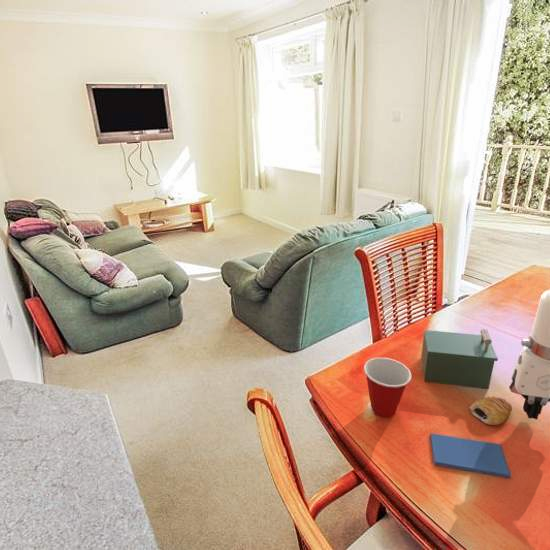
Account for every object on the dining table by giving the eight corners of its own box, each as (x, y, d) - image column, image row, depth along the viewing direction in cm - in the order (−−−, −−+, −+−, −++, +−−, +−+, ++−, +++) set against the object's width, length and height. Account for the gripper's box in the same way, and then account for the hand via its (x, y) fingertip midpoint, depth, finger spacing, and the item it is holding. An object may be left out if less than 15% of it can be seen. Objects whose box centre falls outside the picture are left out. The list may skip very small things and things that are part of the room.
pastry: (493, 398, 93) (496, 386, 92) (519, 416, 88) (522, 403, 86) (466, 411, 90) (468, 398, 88) (491, 430, 84) (494, 418, 83)
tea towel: (499, 445, 80) (500, 442, 80) (510, 478, 73) (511, 475, 73) (430, 434, 84) (430, 431, 84) (434, 464, 77) (434, 461, 77)
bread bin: (479, 364, 106) (484, 337, 102) (488, 389, 96) (494, 361, 93) (421, 358, 110) (424, 332, 106) (424, 381, 101) (427, 354, 97)
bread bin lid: (487, 338, 102) (490, 324, 100) (497, 361, 93) (500, 346, 91) (424, 332, 106) (425, 318, 105) (427, 354, 97) (429, 339, 95)
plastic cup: (415, 422, 88) (421, 381, 83) (372, 429, 86) (374, 388, 82) (395, 391, 98) (398, 353, 93) (355, 397, 96) (357, 359, 92)
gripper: (515, 353, 77) (498, 421, 84) (601, 362, 73) (575, 432, 81) (504, 334, 84) (490, 398, 91) (583, 341, 80) (561, 407, 87)
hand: (530, 414), depth 86 cm, fingers closed
